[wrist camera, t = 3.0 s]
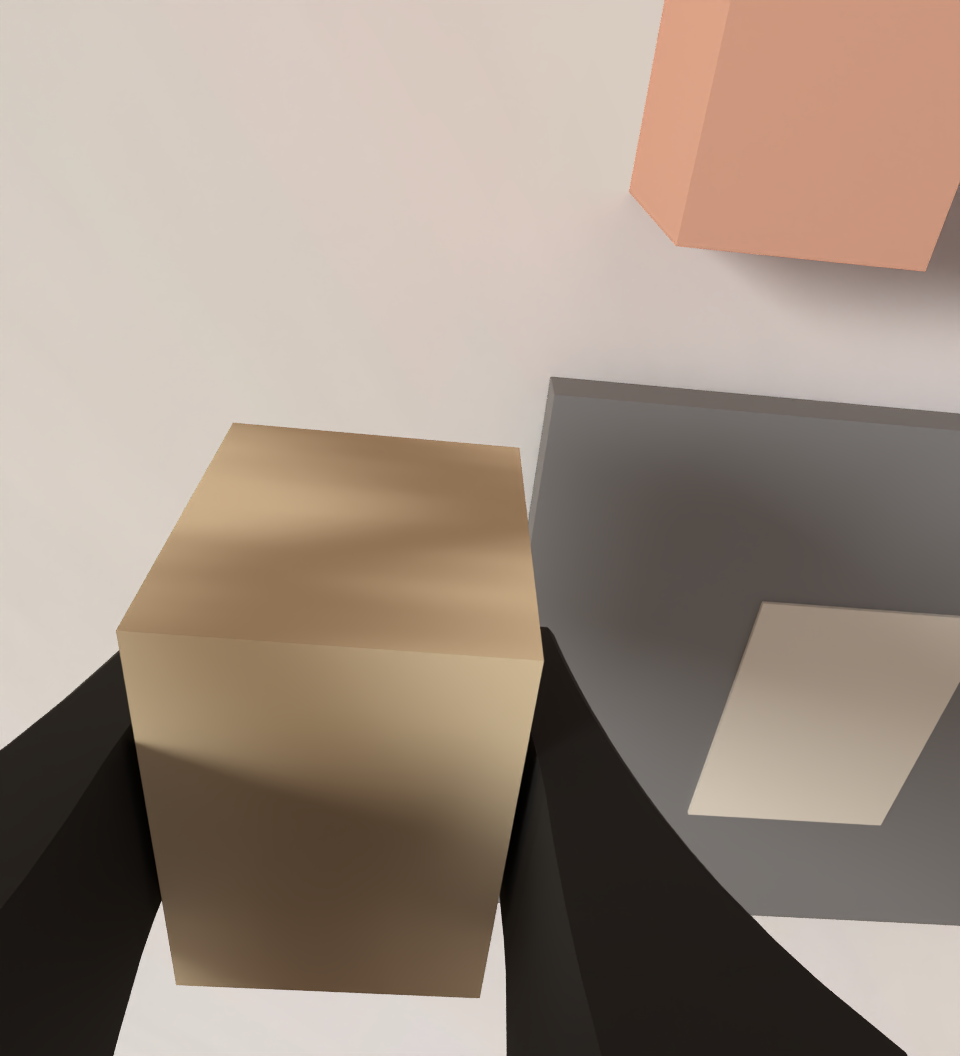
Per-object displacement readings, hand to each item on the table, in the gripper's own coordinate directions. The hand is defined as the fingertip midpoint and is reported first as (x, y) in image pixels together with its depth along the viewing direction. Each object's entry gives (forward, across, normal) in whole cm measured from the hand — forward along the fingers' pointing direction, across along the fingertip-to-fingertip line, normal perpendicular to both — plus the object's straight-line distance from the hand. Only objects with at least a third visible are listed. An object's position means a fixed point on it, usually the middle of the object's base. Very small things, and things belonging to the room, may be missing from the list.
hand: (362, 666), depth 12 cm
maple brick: (+2, 0, 0) cm, 2 cm away
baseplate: (+8, -12, +8) cm, 17 cm away
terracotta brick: (+8, -6, -8) cm, 13 cm away
